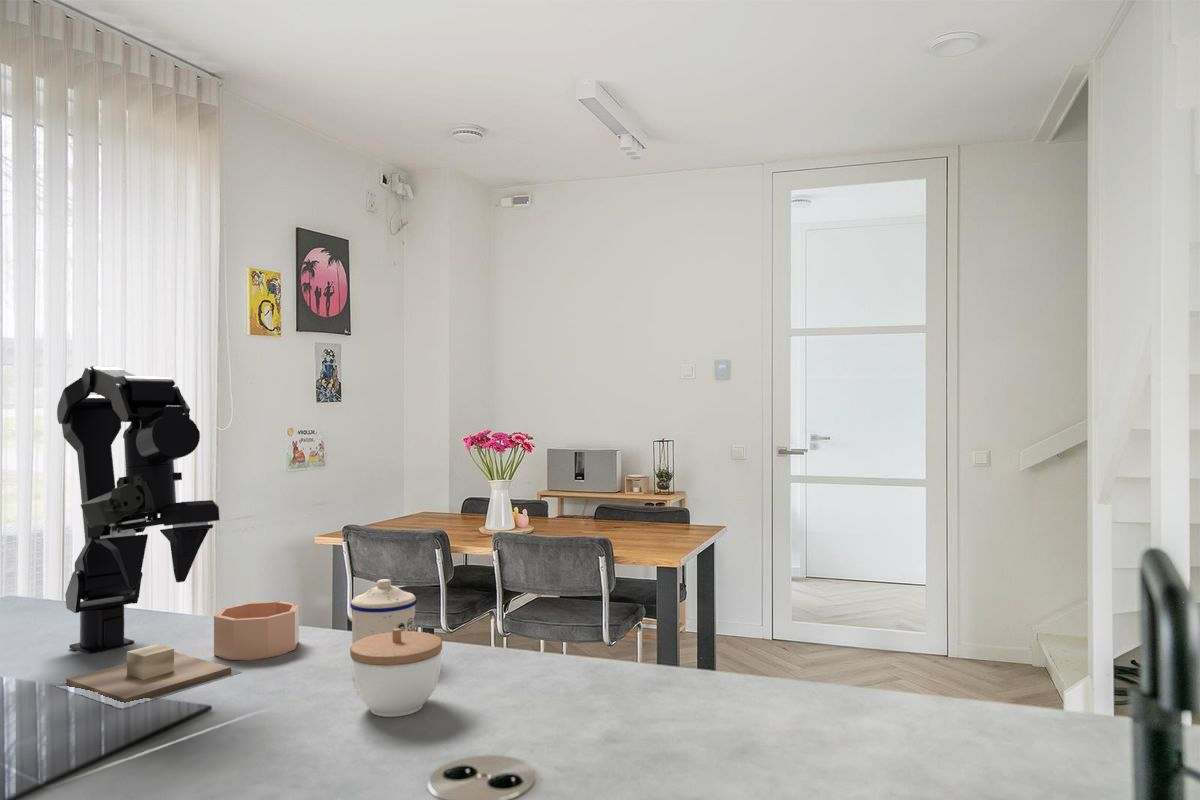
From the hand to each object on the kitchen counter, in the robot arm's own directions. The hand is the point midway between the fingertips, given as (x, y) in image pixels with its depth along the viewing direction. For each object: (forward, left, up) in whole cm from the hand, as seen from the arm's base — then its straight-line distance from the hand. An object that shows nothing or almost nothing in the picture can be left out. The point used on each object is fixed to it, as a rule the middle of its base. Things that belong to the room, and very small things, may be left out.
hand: (156, 584), depth 107 cm
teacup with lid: (+19, +23, -13) cm, 32 cm away
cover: (-1, 0, -12) cm, 12 cm away
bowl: (-1, +16, -13) cm, 20 cm away
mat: (-1, 0, -13) cm, 13 cm away
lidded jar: (+34, +10, -13) cm, 38 cm away
